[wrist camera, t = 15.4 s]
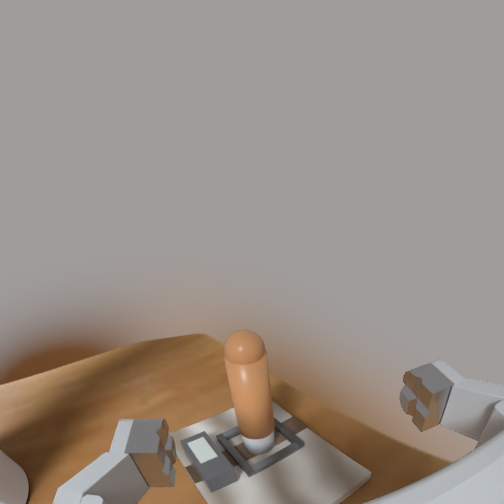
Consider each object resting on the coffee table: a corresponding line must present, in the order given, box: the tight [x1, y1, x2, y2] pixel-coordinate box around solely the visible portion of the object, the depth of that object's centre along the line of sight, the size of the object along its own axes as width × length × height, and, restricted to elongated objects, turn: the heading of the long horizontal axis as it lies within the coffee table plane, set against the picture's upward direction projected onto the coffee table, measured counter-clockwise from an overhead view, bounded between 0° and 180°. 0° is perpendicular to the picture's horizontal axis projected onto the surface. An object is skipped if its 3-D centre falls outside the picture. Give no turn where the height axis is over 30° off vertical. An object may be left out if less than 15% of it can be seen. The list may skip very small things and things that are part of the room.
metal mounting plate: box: [169, 400, 371, 504], centre depth 29 cm, size 15×20×2 cm
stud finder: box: [180, 431, 238, 493], centre depth 28 cm, size 3×7×2 cm, turn 32°
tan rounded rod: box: [224, 330, 275, 455], centre depth 29 cm, size 4×4×15 cm
